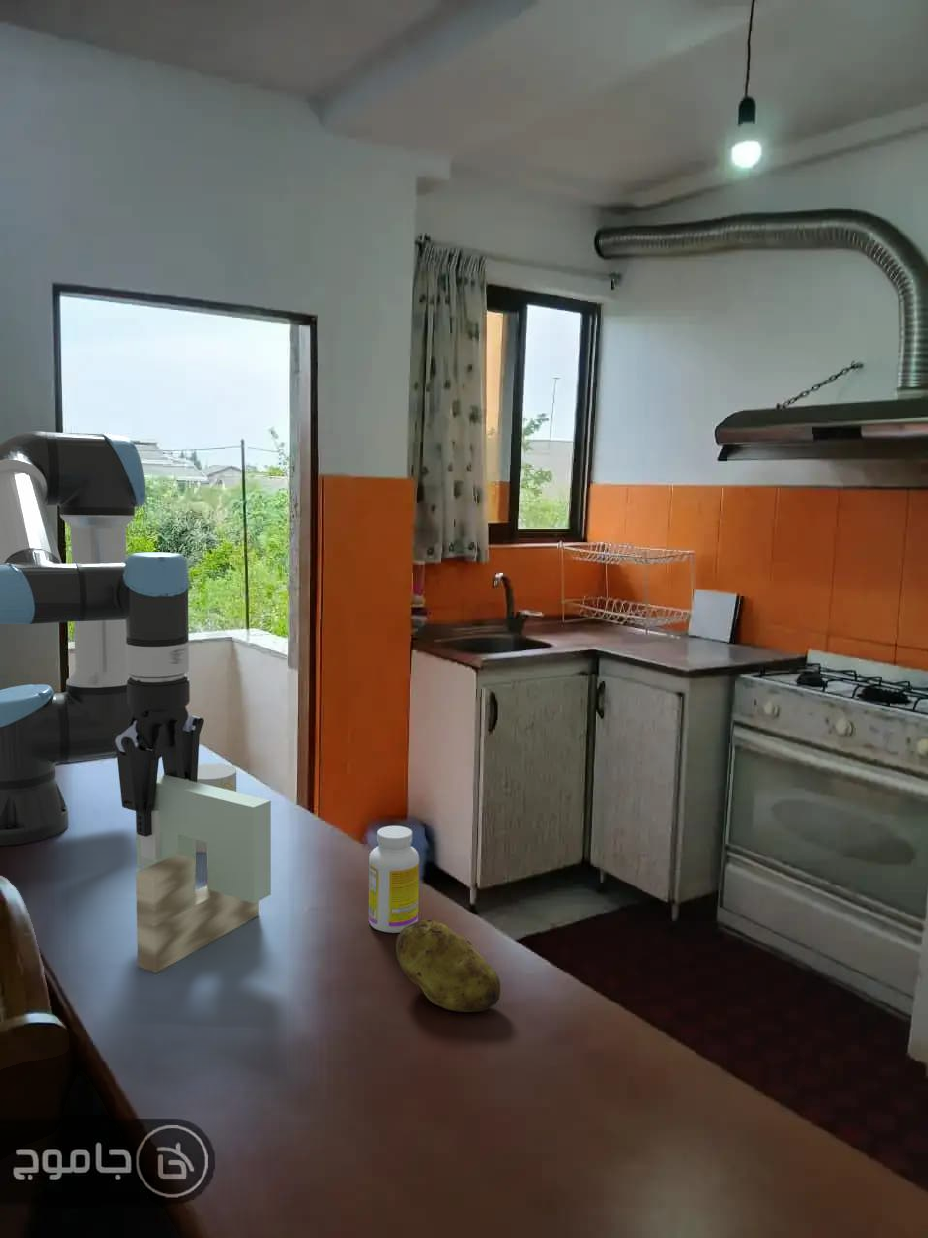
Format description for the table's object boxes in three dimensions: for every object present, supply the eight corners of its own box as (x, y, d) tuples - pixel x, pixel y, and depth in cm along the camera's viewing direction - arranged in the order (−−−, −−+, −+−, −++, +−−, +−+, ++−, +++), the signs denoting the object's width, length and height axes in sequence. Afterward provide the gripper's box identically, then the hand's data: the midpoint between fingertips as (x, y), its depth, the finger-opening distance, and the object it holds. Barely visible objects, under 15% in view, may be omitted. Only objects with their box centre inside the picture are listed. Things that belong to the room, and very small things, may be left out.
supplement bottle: (426, 918, 127) (429, 828, 125) (403, 939, 121) (405, 845, 119) (383, 908, 130) (385, 819, 128) (358, 927, 124) (360, 835, 122)
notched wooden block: (155, 973, 111) (153, 877, 109) (138, 966, 113) (135, 872, 111) (258, 915, 127) (258, 830, 125) (242, 909, 128) (241, 825, 126)
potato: (449, 1036, 101) (451, 966, 99) (384, 983, 111) (385, 920, 109) (508, 1011, 106) (511, 945, 104) (440, 963, 116) (442, 902, 114)
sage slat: (137, 866, 122) (135, 777, 120) (154, 859, 124) (153, 771, 123) (253, 903, 112) (253, 807, 110) (270, 894, 115) (270, 800, 113)
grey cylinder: (228, 853, 147) (228, 780, 145) (177, 851, 147) (176, 778, 145) (242, 834, 155) (241, 764, 153) (193, 832, 155) (192, 762, 153)
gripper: (128, 690, 109) (132, 881, 113) (225, 669, 123) (227, 839, 127) (84, 682, 113) (90, 867, 116) (184, 662, 127) (186, 828, 130)
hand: (161, 852), depth 121 cm, fingers closed on sage slat, 3 cm apart
